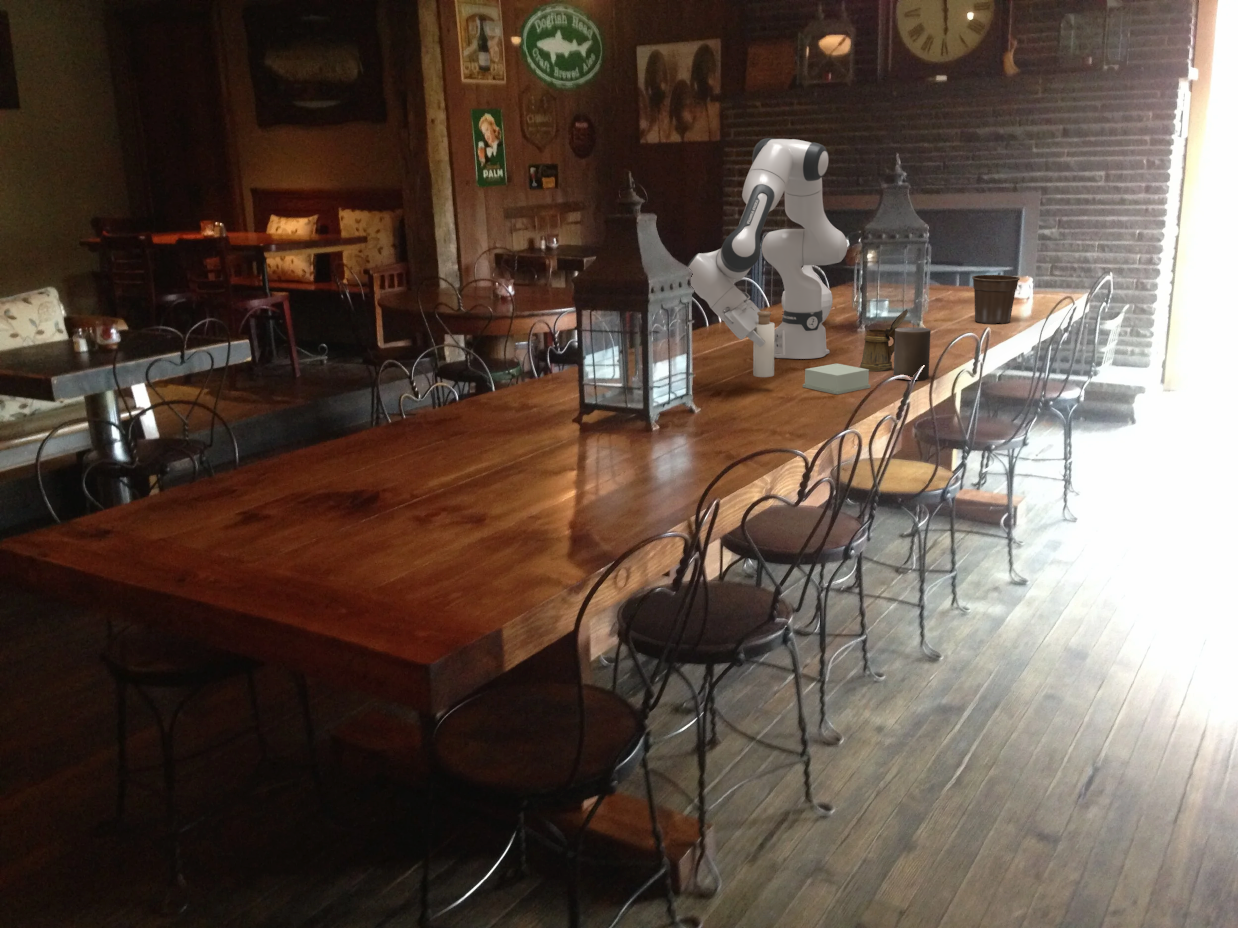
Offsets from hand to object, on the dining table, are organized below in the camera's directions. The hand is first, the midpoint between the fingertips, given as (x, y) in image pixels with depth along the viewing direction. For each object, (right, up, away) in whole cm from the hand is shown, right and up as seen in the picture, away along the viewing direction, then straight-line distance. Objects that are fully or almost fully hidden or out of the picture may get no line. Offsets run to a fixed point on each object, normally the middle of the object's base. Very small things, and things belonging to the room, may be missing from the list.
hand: (766, 342), depth 302 cm
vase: (+29, +18, +109) cm, 114 cm away
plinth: (+20, -12, +4) cm, 23 cm away
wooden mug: (+38, -5, +27) cm, 46 cm away
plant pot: (+95, +18, +104) cm, 142 cm away
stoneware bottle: (0, -9, +3) cm, 9 cm away
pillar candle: (+42, -9, +14) cm, 46 cm away
